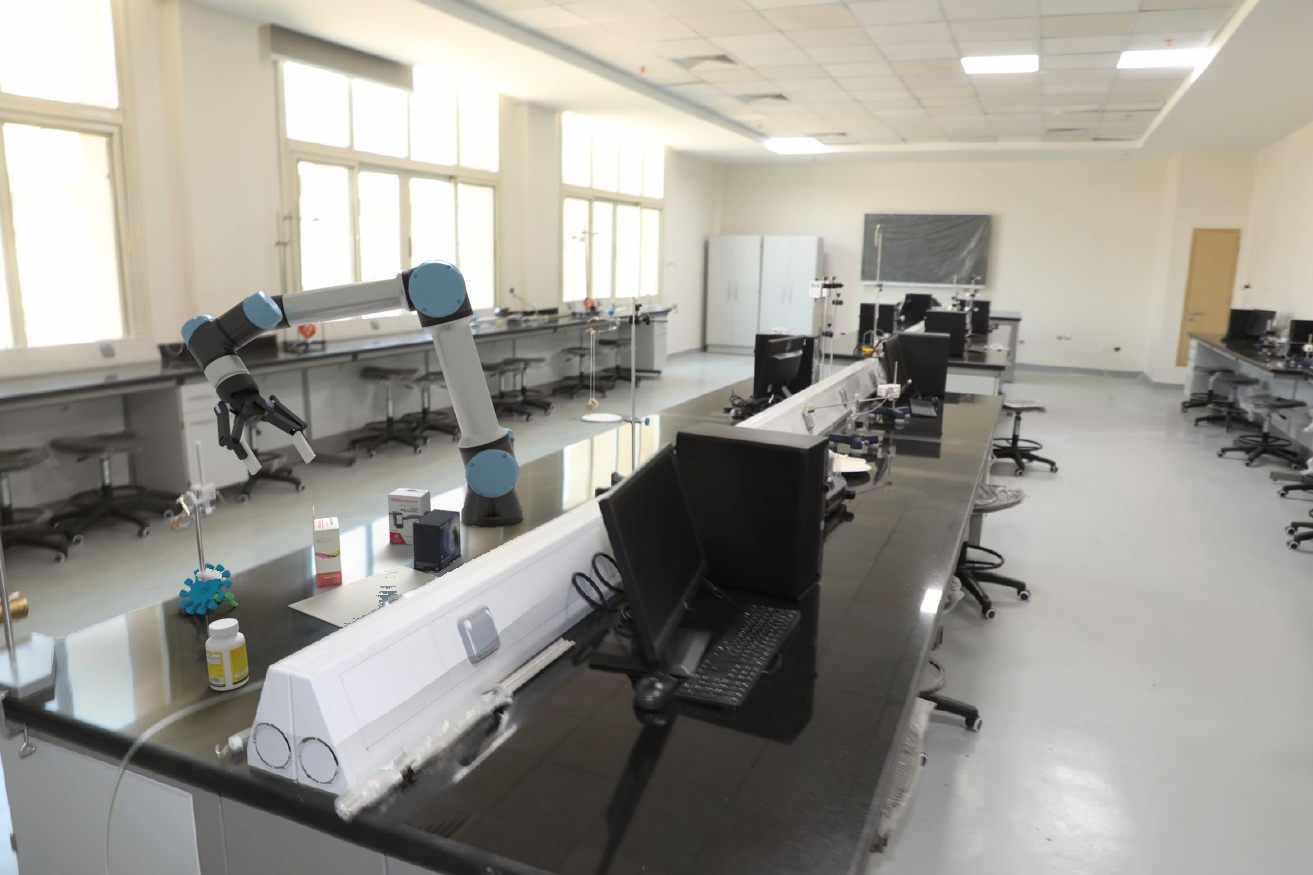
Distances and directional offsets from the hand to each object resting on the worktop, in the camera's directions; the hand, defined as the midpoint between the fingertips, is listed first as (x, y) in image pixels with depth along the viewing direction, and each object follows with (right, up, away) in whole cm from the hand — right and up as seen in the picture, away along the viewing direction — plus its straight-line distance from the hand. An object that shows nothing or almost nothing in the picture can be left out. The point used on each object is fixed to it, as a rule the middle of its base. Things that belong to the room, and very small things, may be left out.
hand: (284, 465), depth 173 cm
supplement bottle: (+11, -32, -43) cm, 55 cm away
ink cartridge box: (+10, -23, -1) cm, 25 cm away
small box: (+29, -21, +8) cm, 37 cm away
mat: (+22, -25, -9) cm, 34 cm away
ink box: (+19, -18, +22) cm, 35 cm away
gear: (-7, -26, -16) cm, 31 cm away
